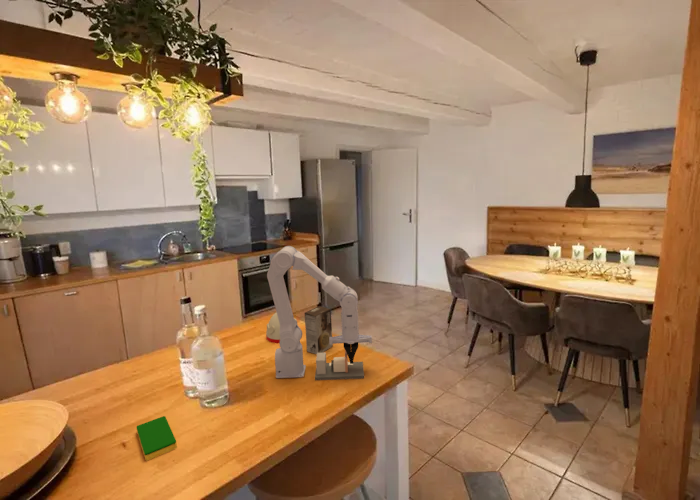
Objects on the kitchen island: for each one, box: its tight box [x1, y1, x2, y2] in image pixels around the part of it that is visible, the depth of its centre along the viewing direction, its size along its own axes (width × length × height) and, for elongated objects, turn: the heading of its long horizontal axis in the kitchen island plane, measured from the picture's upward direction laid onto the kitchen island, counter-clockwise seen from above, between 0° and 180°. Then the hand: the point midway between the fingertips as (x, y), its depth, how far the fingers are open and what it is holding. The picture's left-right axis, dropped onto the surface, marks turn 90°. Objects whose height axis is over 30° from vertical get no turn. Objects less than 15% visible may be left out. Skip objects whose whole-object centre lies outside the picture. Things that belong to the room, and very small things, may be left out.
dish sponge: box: [136, 415, 178, 461], centre depth 97 cm, size 7×14×2 cm, turn 37°
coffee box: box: [304, 305, 334, 355], centre depth 146 cm, size 9×6×16 cm
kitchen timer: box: [265, 312, 298, 344], centre depth 160 cm, size 14×14×15 cm
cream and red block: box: [330, 350, 349, 373], centre depth 129 cm, size 6×8×5 cm
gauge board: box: [314, 351, 365, 381], centre depth 129 cm, size 16×10×6 cm, turn 91°
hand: (351, 362), depth 129 cm, fingers closed
